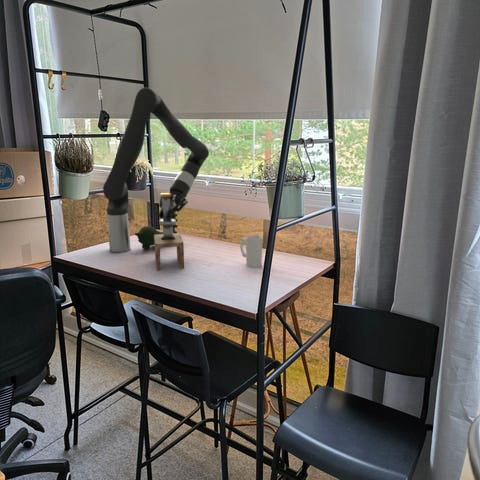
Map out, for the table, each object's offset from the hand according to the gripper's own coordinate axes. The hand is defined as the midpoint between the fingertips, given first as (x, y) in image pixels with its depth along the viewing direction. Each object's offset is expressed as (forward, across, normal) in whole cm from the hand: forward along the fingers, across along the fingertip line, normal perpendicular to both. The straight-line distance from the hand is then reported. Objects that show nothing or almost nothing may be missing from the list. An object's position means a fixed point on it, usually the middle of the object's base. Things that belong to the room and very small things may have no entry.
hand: (163, 217), depth 173 cm
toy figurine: (+2, -23, +27) cm, 36 cm away
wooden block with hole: (+13, 0, +16) cm, 20 cm away
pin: (+6, 0, +9) cm, 11 cm away
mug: (0, +29, +28) cm, 41 cm away
